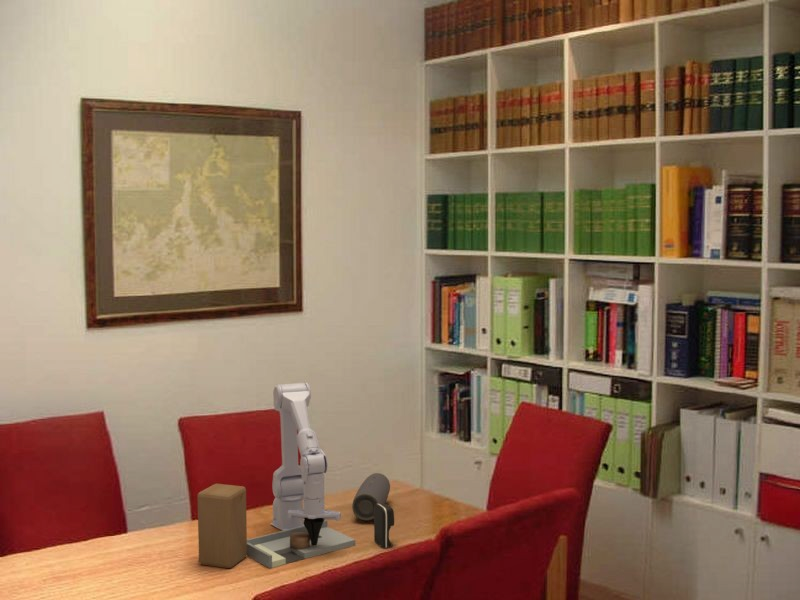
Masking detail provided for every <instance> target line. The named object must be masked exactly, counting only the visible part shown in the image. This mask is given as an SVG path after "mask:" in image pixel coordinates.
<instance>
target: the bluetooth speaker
mask: <svg viewBox="0 0 800 600" xmlns="http://www.w3.org/2000/svg"><path fill="white" fill-rule="evenodd" d="M390 490H391V483H390V479H389V478H388V477H387V476H386V475H384V474H383V473H378V472H376V473H372V474H370V475H369V476H368V477H366V478H365V479H364V481H363V482H362V484H361V485H360V486H359V487H358V490H357V491H356V493H355V494H354V495H355V496H354V498H353V502H352V506H351V508H352V513H353V514H354V516H355V517H356V518H357V519H360V520H362V521H370V520H374V506H375V505H376V504H382V503H385V504H387V503H386V502H387V500H388V498H389V494H390Z"/></svg>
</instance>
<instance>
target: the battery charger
mask: <svg viewBox="0 0 800 600" xmlns="http://www.w3.org/2000/svg"><path fill="white" fill-rule="evenodd" d="M394 525H395V511H394V508H393V507H392V506H390V505H389V504H387V503H382V504H376V505H375V506H374V518H373V529H374V533H373V534H374V535H373V536H374V537H373V540H374V542H375V543H376V544H377V545H379V546H380V547H381V548H383V549H387V548H390V547H392V546H393V543H392V542H391V541H390V529H391V527H393V526H394Z"/></svg>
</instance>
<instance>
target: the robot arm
mask: <svg viewBox="0 0 800 600" xmlns="http://www.w3.org/2000/svg"><path fill="white" fill-rule="evenodd" d="M272 392H273V396H272V397H273V408H274V409H273V410H275V411H277V412H279V417H280V438H281V439H280V443H281V466H279V468H277V469H276V470H275V471H274V472H273V475H272V482H271V483H272V486H271V487H272V493H273V497H275V498H274V500H273V503H272V522H270V525H271V526H273V527H275V528H276V529H279V530H280V531H284V530H288V529H292V528H296V527H300V526H305V527H306V529H307V531H308V534H309V536H310V540H311V545H317V543H318V537H319V533H320V530H321V527H322V524H323V522H324V521H325V520H329V521H330V520H332V521H333V520H335V521H336V522H338V521H340V520H341V517H342V515H341V513H342V512H341V511H337V510H329V509H325V474H326V473H327V471H328V459H327V456H326V452H324V451H323V449H321V446H320V442H319V439H318V436H317V433H316V431H315V430H313V429H311V422H310V417H309V411H308V407H309V405H310V402H311V397H312V393H311V386H310V385H309V383H307V381H304V382H297V383H286V384H285V383H284V384H283V383H282V384H280V383H279V384H278V383H277V384H276V385H275V386H274V389H273V391H272ZM299 454H300V459H299ZM299 461H300V462H299ZM299 463H300V464H299Z"/></svg>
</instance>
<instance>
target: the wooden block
mask: <svg viewBox="0 0 800 600" xmlns="http://www.w3.org/2000/svg"><path fill="white" fill-rule="evenodd" d="M197 526H198V527H197V528H198V531H197V532H198V533H197V534H198V535H197V536H198V563H199V564H200V565H204V566H209V567H210V566H211V567H218V568H225V569H226V568H227V569H230V568H233V567H235V566H236V565H237V564H238V563H239V562H241V561H242V560H244V559H245V558H246V557H248V556H247V537H248V535H247V534H248V533H247V529H248V527H247V489H246V487H245V486H243V485H241V486H240V485H235V484H234V485H233V484H222V483H214V484H212V485H211V486H209V487H207V488H205V489H203V490H200V492H198V494H197Z"/></svg>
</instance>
